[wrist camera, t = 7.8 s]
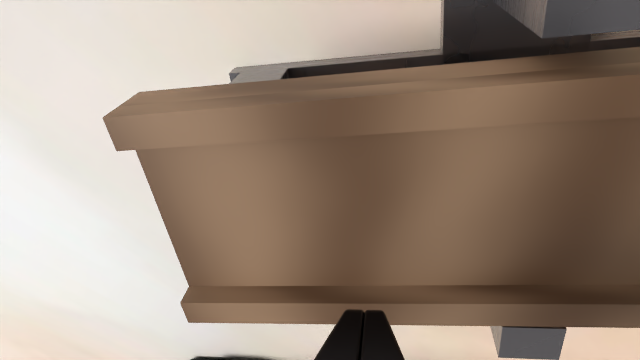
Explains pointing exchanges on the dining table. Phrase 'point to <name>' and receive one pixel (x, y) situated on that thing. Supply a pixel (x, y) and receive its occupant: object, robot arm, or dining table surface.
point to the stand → (483, 45)
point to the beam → (404, 192)
